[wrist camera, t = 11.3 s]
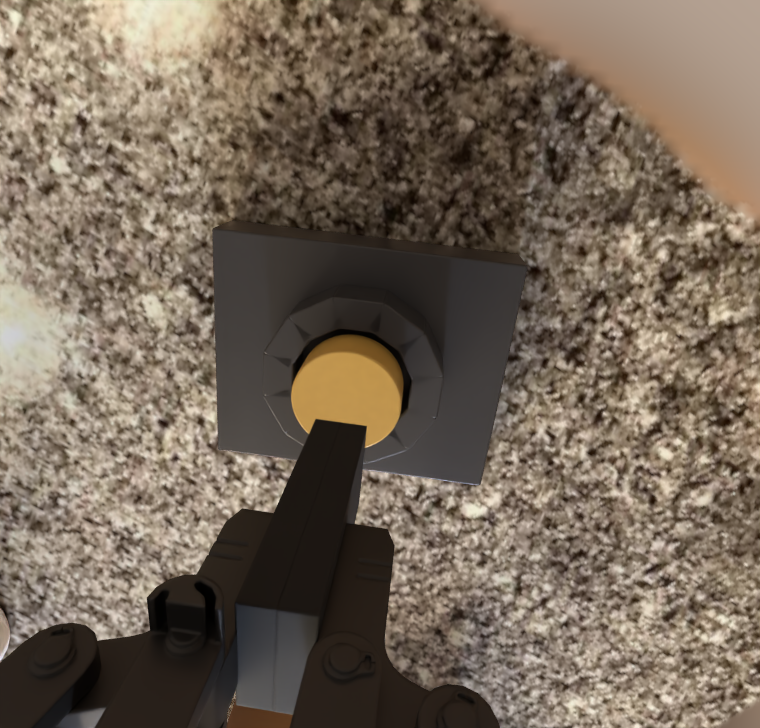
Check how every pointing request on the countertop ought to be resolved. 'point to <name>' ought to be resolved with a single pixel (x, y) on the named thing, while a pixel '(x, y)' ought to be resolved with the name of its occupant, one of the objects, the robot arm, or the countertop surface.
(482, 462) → the push button housing
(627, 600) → the countertop surface
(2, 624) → the mug
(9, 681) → the robot arm
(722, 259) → the countertop surface
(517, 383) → the countertop surface
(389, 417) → the button
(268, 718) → the plate
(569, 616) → the countertop surface
